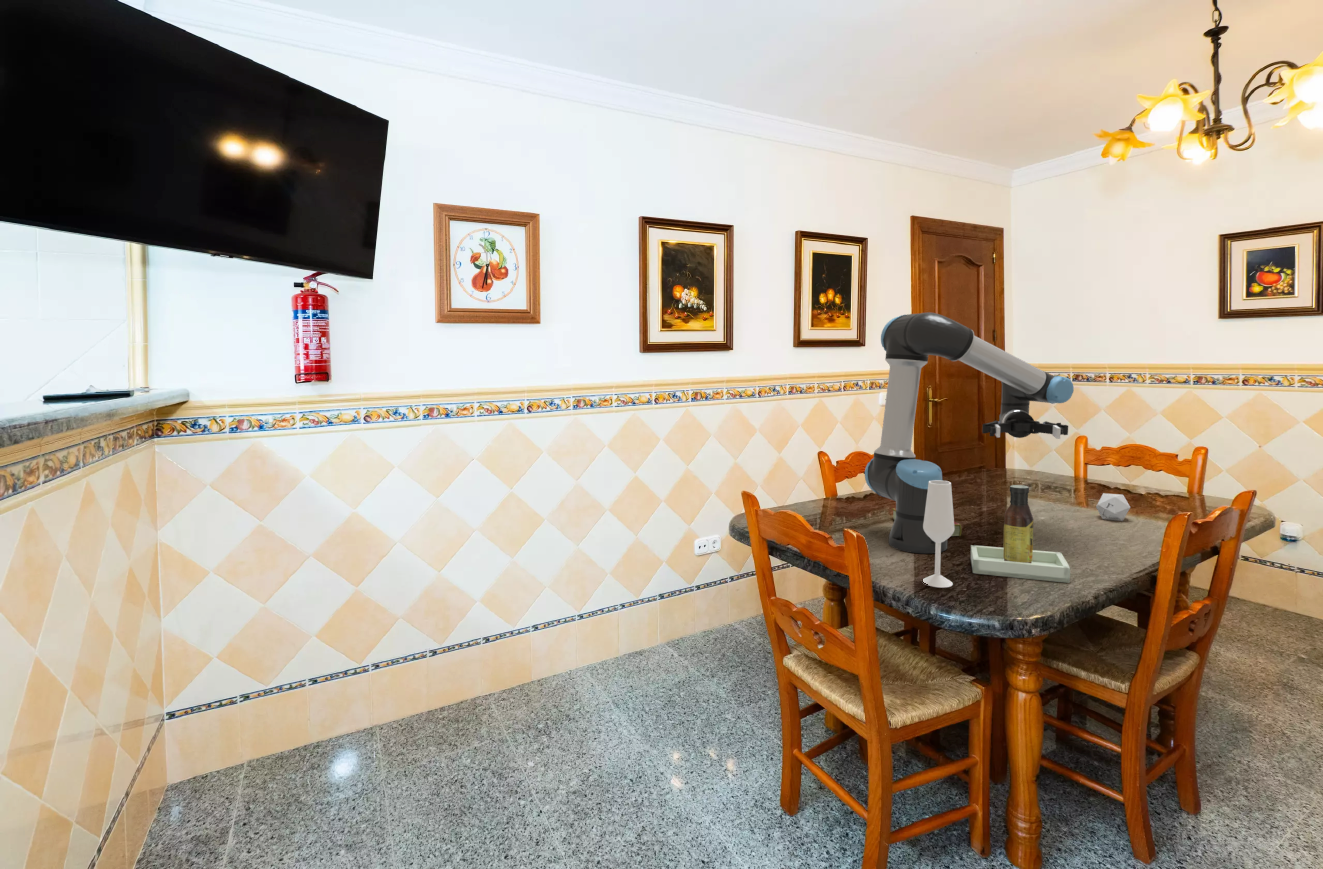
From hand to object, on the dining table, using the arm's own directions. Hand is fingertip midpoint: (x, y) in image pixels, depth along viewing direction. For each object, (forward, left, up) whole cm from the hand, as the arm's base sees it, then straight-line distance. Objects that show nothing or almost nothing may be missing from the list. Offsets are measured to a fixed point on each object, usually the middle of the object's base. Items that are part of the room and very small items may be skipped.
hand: (1028, 432), depth 162 cm
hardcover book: (-24, +18, -33) cm, 44 cm away
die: (+29, +43, -32) cm, 61 cm away
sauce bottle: (-3, -16, -31) cm, 35 cm away
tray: (-3, -16, -32) cm, 36 cm away
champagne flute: (-21, -31, -32) cm, 49 cm away
